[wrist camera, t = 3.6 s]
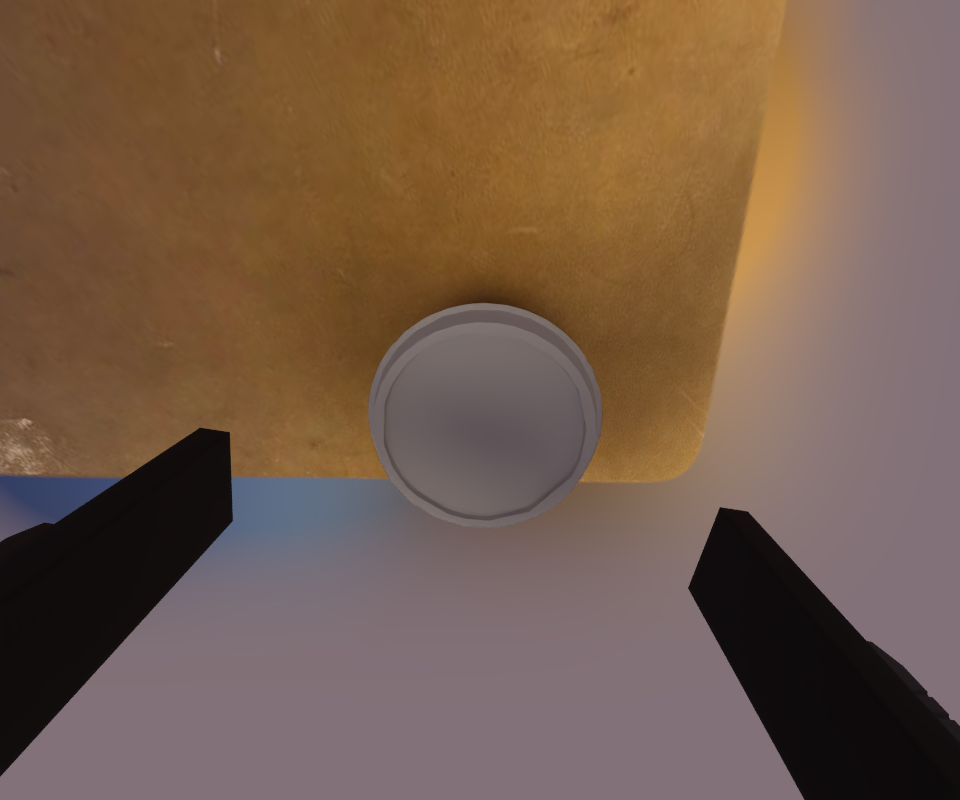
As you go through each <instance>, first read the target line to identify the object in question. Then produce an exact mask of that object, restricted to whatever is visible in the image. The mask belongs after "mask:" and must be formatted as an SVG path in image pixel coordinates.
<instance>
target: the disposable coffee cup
mask: <svg viewBox="0 0 960 800" xmlns="http://www.w3.org/2000/svg"><path fill="white" fill-rule="evenodd" d="M601 422H602V404H601V393H600V389H599V387H598V384H597V381H596V378H595V375H594V372H593V369H592V367H591V366H590V364H589V362H588V361H587V359H586V357H585V356H584V354H583V353H582V351H581V349H580V348H579V347H578V346H577V345H576V344H575V342H574V341H573V340H572V339H571V338H570V337H569V336H568V335H567V334H566V333H564V332H563V331H562V330H560V329H559V328H558V327H556V326H555V325H554V324H553V323H551V322H550V321H548V320H547V319H544V318H542V317H540V316H538V315H536V314H534V313H532V312H529V311H527V310H524V309H520V308H517V307H513V306H509V305H501V304H490V303H474V304H466V305H460V306H455V307H451V308H447V309H445V310H442V311H440V312H437V313H435V314H432V315H430V316H428V317H426V318H425V319H423V320H421V321H419V322H418V323H416V324H415V325H413V326H412V327H411V328H409V329H408V330H407V331H405V332H404V333H403V334H402V335H401V337H400V338H399V339H398V340H397V341H396V342H395V343H394V344H393V345H392V346H391V347H390V349H389V350H388V352H387V353H386V355H385V356H384V358H383V359H382V361H381V362H380V364H379V367H378V370H377V372H376V375H375V377H374V380H373V382H372V386H371V391H370V397H369V425H370V430H371V435H372V439H373V442H374V445H375V447H376V450H377V454H378V457H379V460H380V462H381V464H382V466H383V467H384V469H385V471H386V473H387V475H388V476H389V478H390V480H391V482H393V484H394V485H395V486H396V487H397V488H398V489H399V490H400V491H401V492H402V493H403V494H404V496H405V497H406V498H407V499H408V500H409V501H410V502H412V503H413V504H415V505H416V506H418V507H420V508H421V509H423V510H424V511H426V512H428V513H429V514H431V515H433V516H434V517H436V518H439V519H442V520H446V521H449V522H452V523H455V524H458V525H461V526H466V527H481V528H494V527H503V526H510V525H513V524H516V523H520V522H523V521H526V520H528V519H531V518H534V517H536V516H539V515H541V514H542V513H544V512H545V511H547V510H549V509H550V508H552V507H553V506H555V505H556V504H558V503H559V502H560V501H561V500H562V499H563V498H564V497H565V496H566V495H567V494H568V493H569V492H571V491H572V489H573V488H574V487H575V486H576V484H577V483H578V481H579V480H580V479H581V477H582V476H583V474H584V472H585V470H586V468H587V466H588V464H589V462H590V460H591V458H592V456H593V454H594V452H595V449H596V446H597V443H598V440H599V437H600V431H601Z"/></svg>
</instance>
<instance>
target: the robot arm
mask: <svg viewBox="0 0 960 800" xmlns="http://www.w3.org/2000/svg"><path fill="white" fill-rule="evenodd" d="M231 487H232V485H231V456H230V432H224V431H218V430H211V429H205V428H199V429H198V430H196V431H195V432H193V433H192V434H190V435H189V436H187V437H185V438H184V439H182V440H181V441H179V442H178V443H176V444H175V445H173V446H172V447H170V448H169V449H167V450H166V451H164V452H163V453H161V454H160V455H158V456H157V457H155V458H154V459H152V460H151V461H149V462H148V463H146V464H145V465H143V466H142V467H140V468H139V469H137V470H135V471H134V472H132V473H131V474H129V475H128V476H126V477H125V478H123V479H122V480H120V481H119V482H117V483H116V484H114V485H113V486H111V487H110V488H108V489H107V490H105V491H104V492H102V493H101V494H100V495H98V496H96V497H95V498H93V499H92V500H90V501H89V502H87V503H85V504H84V505H83V506H81V507H79V508H78V509H77V510H75V511H73V512H72V513H70V514H69V515H67V516H66V517H64V518H63V519H61V520H60V521H58V522H57V523H55V524H50V523H42V524H40V525H38V526H35V527H33V528H30V529H28V530H25V531H23V532H20V533H18V534H15V535H13V536H10V537H8V538H6V539H4V540H3V541H1V542H0V776H1V775H2V774H3V773H4V772H5V771H6V770H7V769H8V768H9V766H10V765H11V764H12V763H13V762H14V761H15V760H16V759H17V758H18V756H19V755H20V754H21V753H22V752H23V751H24V750H25V749H26V748H27V747H28V746H29V744H30V743H31V742H32V741H33V740H34V739H35V738H36V737H37V736H38V735H39V733H40V732H41V731H42V730H43V729H44V728H45V727H46V726H47V725H48V723H49V722H50V721H51V720H52V719H53V718H54V717H55V716H56V715H57V714H58V713H59V711H60V710H61V709H62V708H63V707H64V706H65V705H66V704H67V703H68V702H69V700H70V699H71V698H72V697H73V696H74V695H75V694H76V693H77V692H78V690H79V689H80V688H81V687H82V686H83V685H84V684H85V683H86V681H88V680H89V678H90V677H91V676H92V675H93V674H94V673H95V672H96V671H97V669H98V668H99V667H100V666H101V665H102V664H103V663H104V662H105V661H106V660H107V659H108V657H109V656H110V655H111V654H112V653H113V652H114V651H115V650H116V649H117V648H118V646H119V645H120V644H121V643H122V642H123V641H124V640H125V639H126V638H127V637H128V635H129V634H130V633H131V632H132V631H133V630H134V629H135V628H136V627H137V625H139V623H140V622H141V621H142V620H143V619H144V618H145V617H146V616H147V615H148V614H149V612H150V611H151V610H152V609H153V608H154V607H155V606H156V605H157V604H158V603H159V601H160V600H161V599H162V598H163V597H164V596H165V595H166V594H167V593H168V592H169V590H170V589H171V588H172V587H173V586H174V585H175V584H176V583H177V582H178V581H179V579H180V578H181V577H182V576H183V575H184V574H185V573H186V572H187V571H188V570H189V568H190V567H191V566H192V565H193V564H194V563H195V562H196V561H197V560H198V559H199V557H200V556H201V555H202V554H203V553H204V552H205V551H206V550H207V549H208V548H209V547H210V545H211V544H212V543H213V542H214V541H215V540H216V539H217V538H218V537H219V535H220V534H221V533H222V532H223V531H224V530H225V529H226V528H227V527H228V525H229V524H230V523H231V522H232V521H233V514H232V488H231ZM688 589H689V590H690V592H691V594H692V596H693V598H694V600H695V602H696V603H697V605H698V607H699V609H700V611H701V612H702V614H703V616H704V618H705V620H706V621H707V623H708V625H709V627H710V629H711V631H712V632H713V634H714V636H715V638H716V640H717V642H718V643H719V645H720V647H721V649H722V651H723V652H724V654H725V656H726V657H727V660H728V662H729V663H730V665H731V667H732V669H733V671H734V672H735V674H736V676H737V678H738V679H739V681H740V683H741V685H742V687H743V689H744V691H745V692H746V694H747V696H748V698H749V700H750V702H751V703H752V705H753V707H754V709H755V711H756V712H757V714H758V716H759V718H760V720H761V722H762V723H763V725H764V727H765V729H766V731H767V732H768V734H769V736H770V738H771V740H772V742H773V743H774V745H775V747H776V749H777V750H778V752H779V754H780V756H781V758H782V760H783V762H784V763H785V765H786V767H787V769H788V771H789V772H790V774H791V776H792V778H793V780H794V781H795V783H796V785H797V787H798V789H799V791H800V792H801V794H802V796H803V798H804V800H960V726H959V725H958V724H957V723H956V722H955V721H954V720H950V718H949V714H948V713H947V712H946V711H945V710H944V709H943V708H942V707H941V706H940V705H939V704H938V703H937V701H936V700H934V698H932V697H929V696H928V695H927V691H926V690H925V689H924V688H923V687H922V686H921V685H920V684H919V682H918V681H917V680H916V679H915V678H914V677H913V676H912V675H911V674H910V673H909V672H908V671H907V670H906V669H905V668H904V667H903V666H902V665H901V664H900V663H898V662H897V661H896V660H894V659H893V658H892V657H890V656H889V655H888V654H887V653H885V652H884V651H883V650H882V649H880V648H879V647H878V646H876V645H875V644H874V643H872V642H869V641H866V640H865V639H864V638H863V637H862V636H861V635H860V633H859V632H858V631H857V630H856V629H855V628H854V627H853V626H852V625H851V624H850V623H849V621H848V620H847V619H846V618H845V617H844V616H843V615H842V614H841V613H840V612H839V611H838V609H837V608H836V607H835V606H834V605H833V604H832V603H831V602H830V601H829V600H828V599H827V597H826V596H825V595H824V594H823V593H822V592H821V591H820V590H819V589H818V588H817V587H816V586H815V585H814V583H813V582H812V581H811V580H810V579H809V578H808V577H807V576H806V575H805V574H804V572H803V571H802V570H801V569H800V568H799V567H798V566H797V565H796V564H795V563H794V561H793V560H792V559H791V558H790V557H789V556H788V555H787V554H786V553H785V552H784V551H783V550H782V548H780V546H779V545H778V544H777V543H776V542H775V541H774V540H773V539H772V537H771V536H769V534H768V533H767V532H766V531H765V530H764V529H763V528H762V527H761V525H760V524H759V523H758V522H757V521H756V520H755V519H754V518H753V517H752V516H751V515H750V514H749V512H746V511H741V510H734V509H727V508H721V507H720V509H719V511H718V514H717V516H716V519H715V522H714V524H713V527H712V529H711V532H710V534H709V537H708V539H707V542H706V544H705V547H704V549H703V552H702V554H701V557H700V560H699V562H698V565H697V567H696V570H695V572H694V575H693V577H692V580H691V582H690V585H689V587H688Z"/></svg>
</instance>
